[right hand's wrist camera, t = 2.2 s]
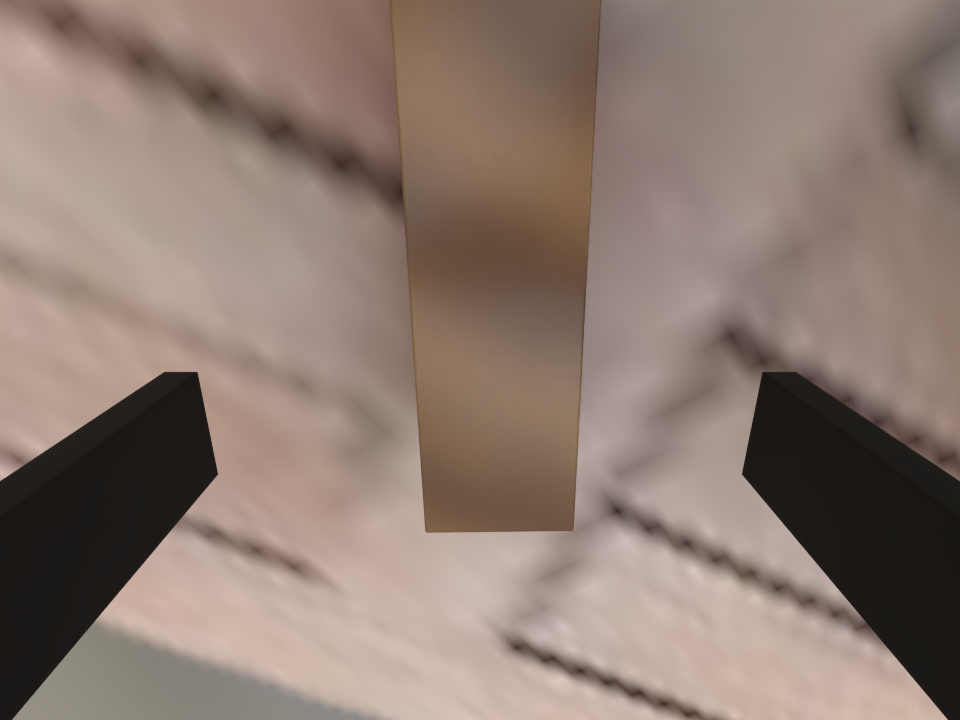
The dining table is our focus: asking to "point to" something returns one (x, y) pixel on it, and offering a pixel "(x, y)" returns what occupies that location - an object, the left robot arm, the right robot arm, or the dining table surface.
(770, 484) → the right robot arm
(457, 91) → the post
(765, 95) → the dining table surface
